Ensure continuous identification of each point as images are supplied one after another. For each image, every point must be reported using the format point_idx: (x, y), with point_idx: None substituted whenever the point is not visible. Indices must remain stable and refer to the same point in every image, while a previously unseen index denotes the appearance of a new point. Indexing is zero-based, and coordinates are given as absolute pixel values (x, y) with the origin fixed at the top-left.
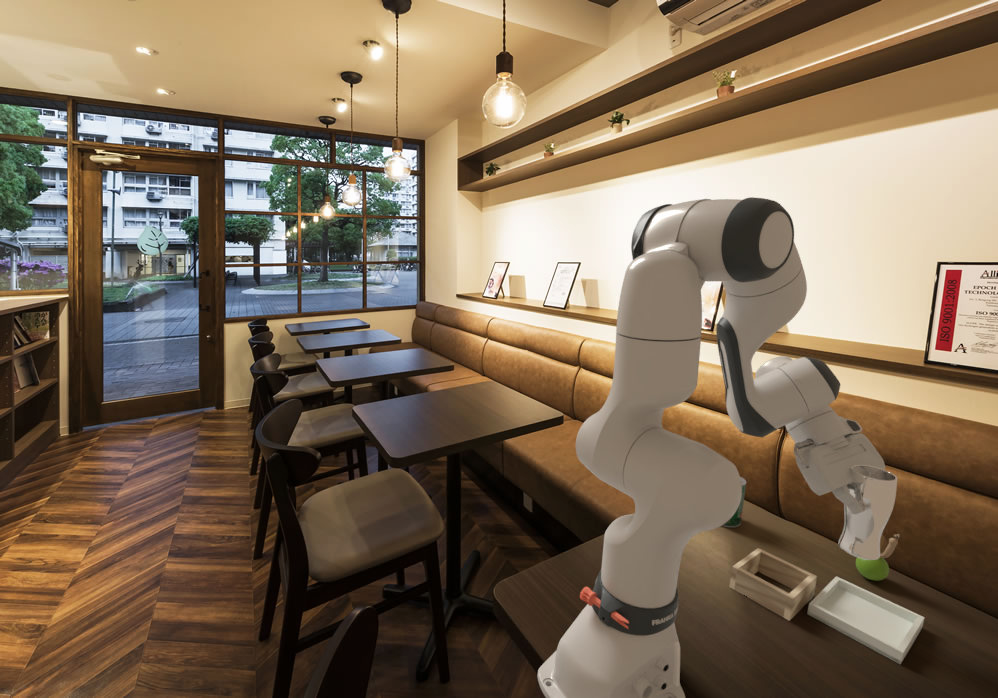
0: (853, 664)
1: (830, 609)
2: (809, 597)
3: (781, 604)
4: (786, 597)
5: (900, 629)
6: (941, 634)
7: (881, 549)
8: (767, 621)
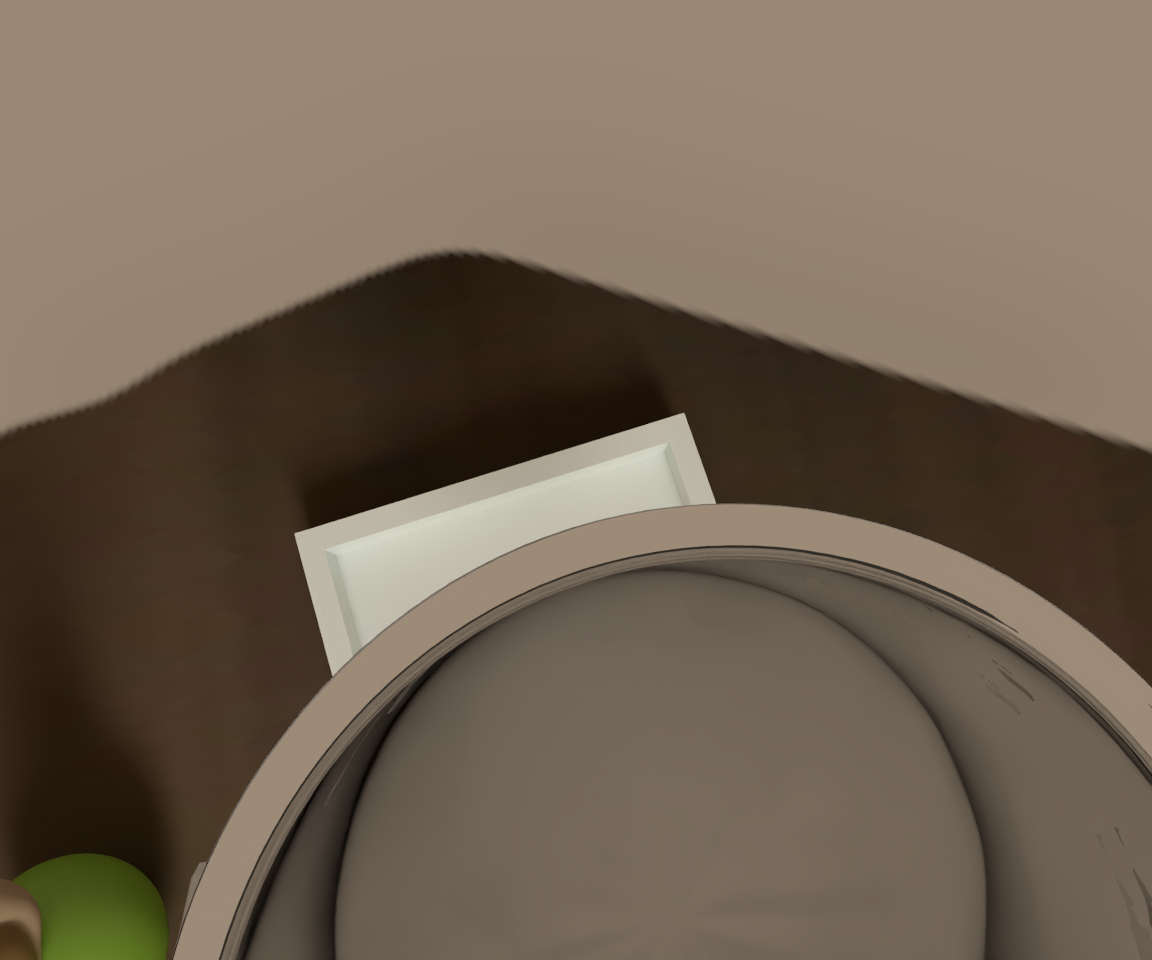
0: (885, 494)
1: None
2: None
3: None
4: None
5: (454, 556)
6: (266, 486)
7: (14, 941)
8: None
